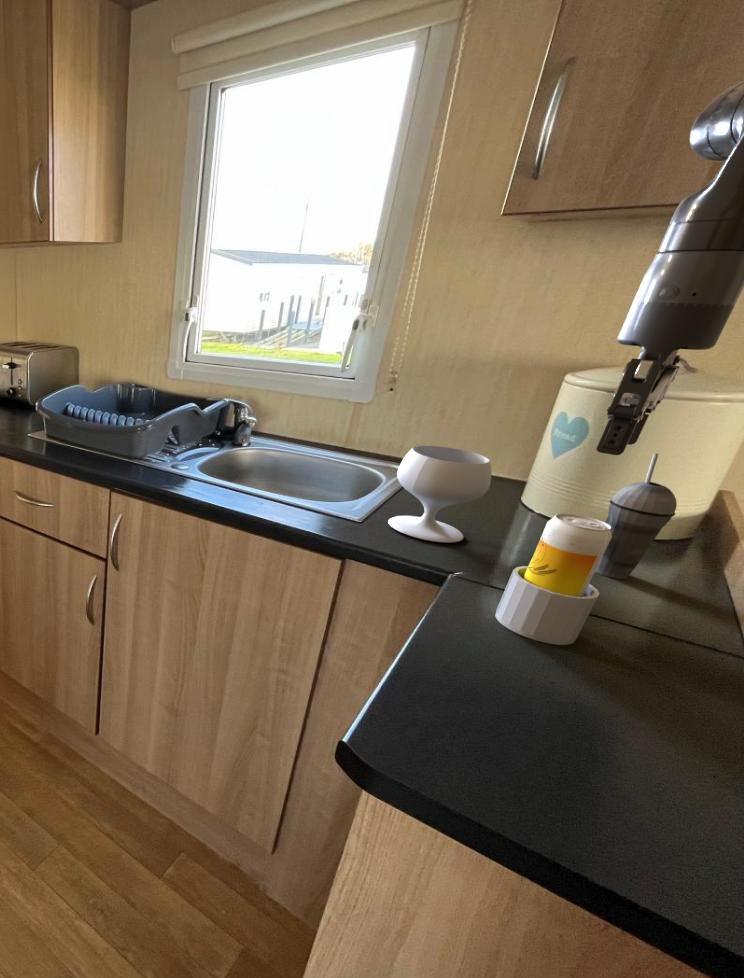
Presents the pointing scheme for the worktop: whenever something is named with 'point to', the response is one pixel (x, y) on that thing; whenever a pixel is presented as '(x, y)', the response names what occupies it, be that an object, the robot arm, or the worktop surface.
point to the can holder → (543, 610)
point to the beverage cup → (635, 524)
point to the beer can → (568, 554)
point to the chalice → (440, 488)
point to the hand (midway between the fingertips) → (615, 448)
